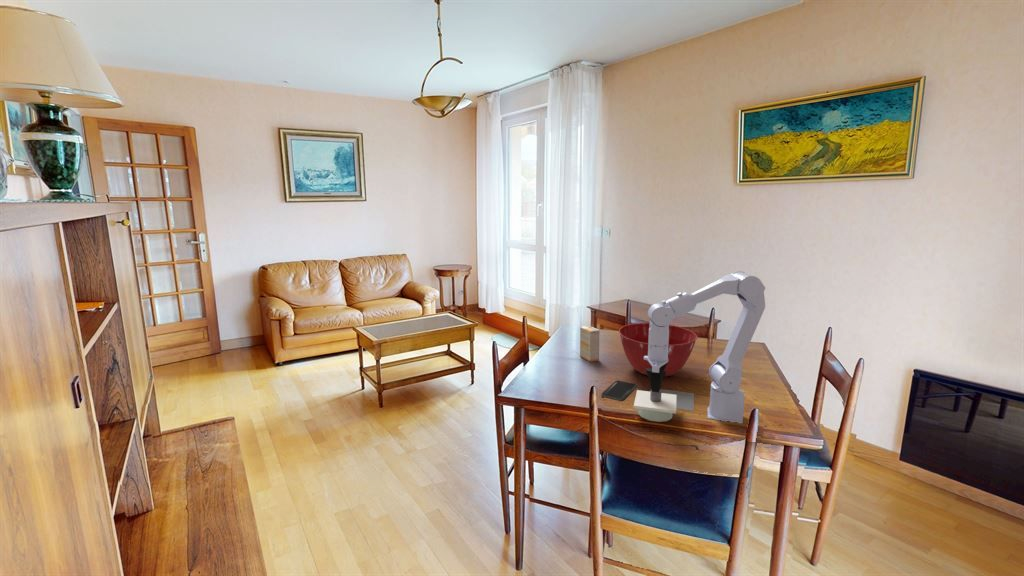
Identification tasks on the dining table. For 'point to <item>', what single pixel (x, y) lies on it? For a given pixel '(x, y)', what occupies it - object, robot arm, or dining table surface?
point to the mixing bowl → (637, 346)
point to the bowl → (655, 415)
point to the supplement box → (589, 343)
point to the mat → (682, 399)
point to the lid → (655, 401)
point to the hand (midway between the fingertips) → (656, 386)
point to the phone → (619, 390)
